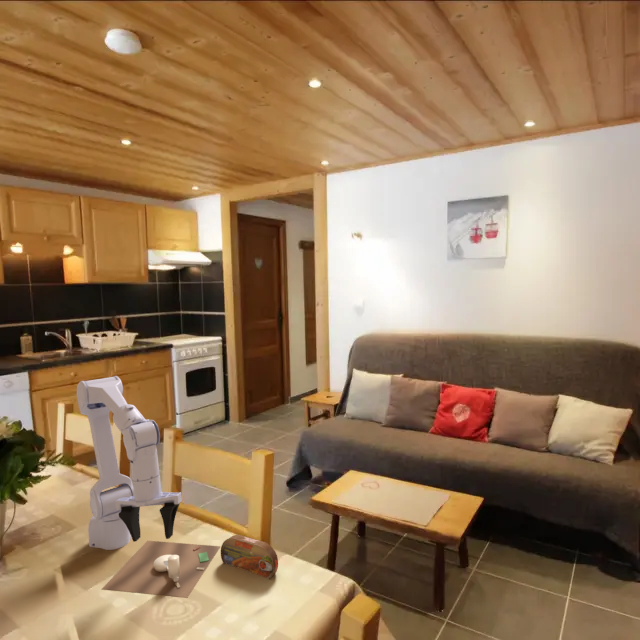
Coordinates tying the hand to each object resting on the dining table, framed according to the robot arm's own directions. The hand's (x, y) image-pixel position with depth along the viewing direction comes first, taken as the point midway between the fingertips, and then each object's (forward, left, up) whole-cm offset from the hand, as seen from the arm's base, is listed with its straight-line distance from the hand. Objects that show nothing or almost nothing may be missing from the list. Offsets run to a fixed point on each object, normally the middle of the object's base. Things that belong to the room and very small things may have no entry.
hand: (153, 538), depth 102 cm
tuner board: (0, +5, -12) cm, 13 cm away
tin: (+20, +7, -12) cm, 24 cm away
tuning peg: (+2, +3, -10) cm, 10 cm away
